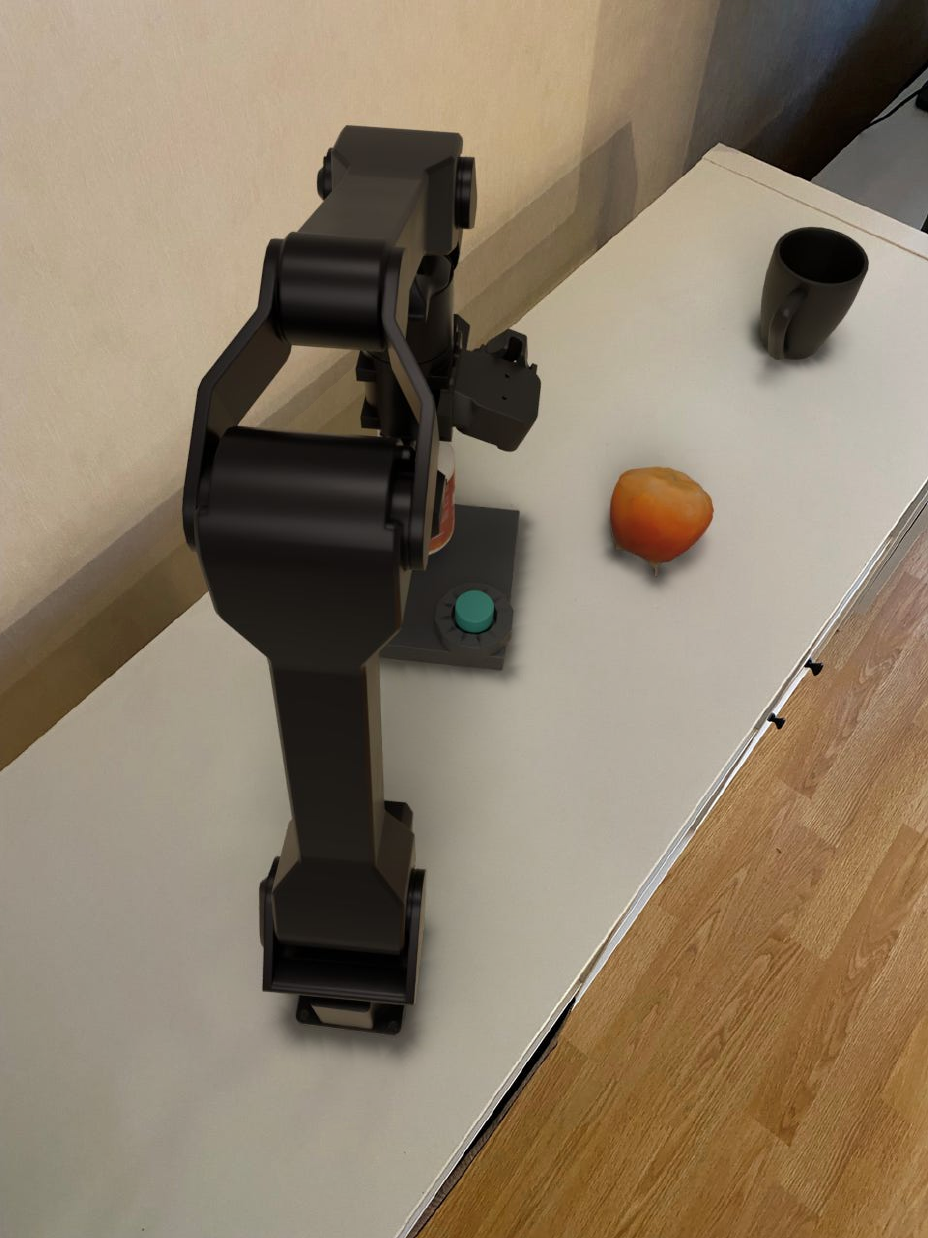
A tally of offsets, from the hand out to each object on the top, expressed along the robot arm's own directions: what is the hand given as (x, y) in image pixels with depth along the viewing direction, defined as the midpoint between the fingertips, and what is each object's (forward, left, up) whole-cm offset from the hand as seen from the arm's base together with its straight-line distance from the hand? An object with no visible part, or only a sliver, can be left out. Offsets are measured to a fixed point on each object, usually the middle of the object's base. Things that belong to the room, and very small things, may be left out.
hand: (413, 497), depth 72 cm
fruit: (+4, -19, -7) cm, 21 cm away
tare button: (-7, -5, -4) cm, 10 cm away
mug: (+28, -31, -7) cm, 42 cm away
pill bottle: (0, 0, -4) cm, 4 cm away
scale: (-3, -2, -7) cm, 8 cm away
